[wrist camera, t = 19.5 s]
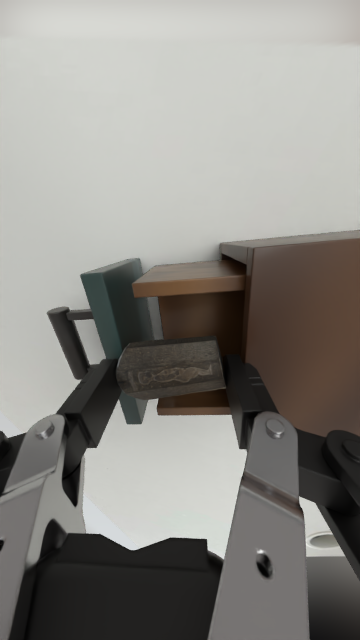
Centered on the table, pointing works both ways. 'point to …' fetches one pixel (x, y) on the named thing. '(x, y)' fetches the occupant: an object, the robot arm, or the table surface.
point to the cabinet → (304, 325)
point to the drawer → (176, 316)
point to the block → (170, 367)
